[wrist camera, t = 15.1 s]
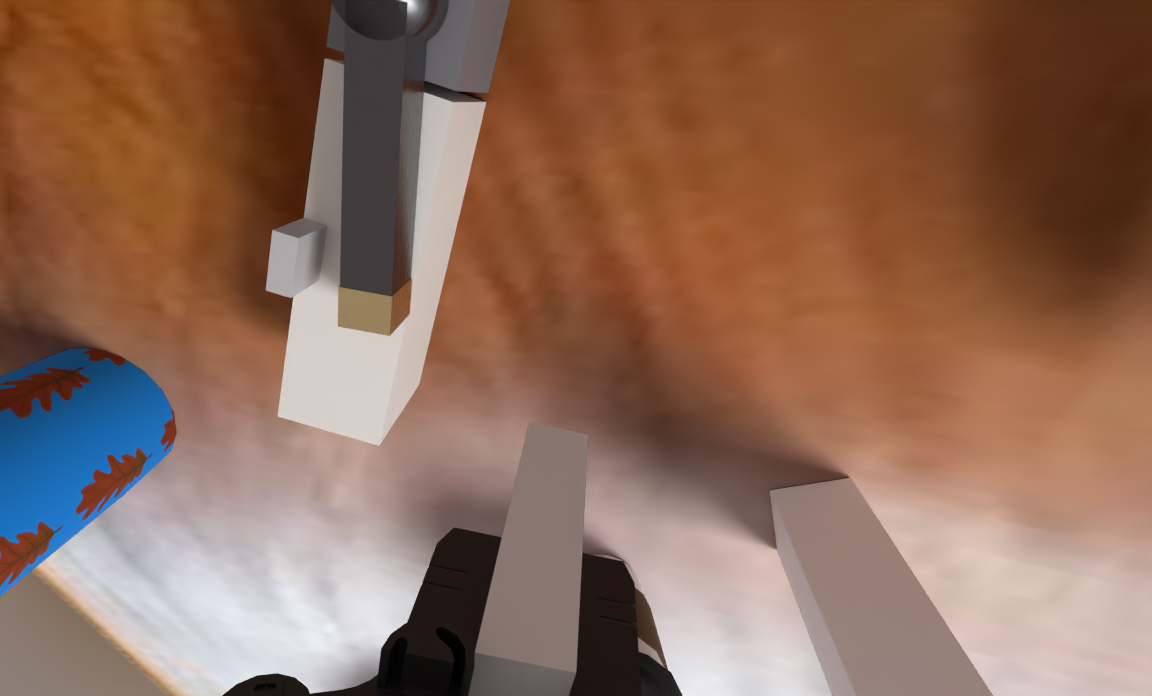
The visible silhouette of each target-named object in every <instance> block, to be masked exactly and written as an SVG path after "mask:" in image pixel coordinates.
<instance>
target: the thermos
mask: <svg viewBox="0 0 1152 696" xmlns="http://www.w3.org/2000/svg"><path fill="white" fill-rule="evenodd" d="M175 436H176V426H175V419H174V412H173V410H172V408H171V406H170V404H169V402H168V400H167V399H166V397H165V395H164V393H163V391H162V390H161V389H160V388H159V387H158V386H157V385H156V383H155V382H154V381H153V380H152V379H151V378H150V377H149V376H148V375H147V374H146V373H145V372H144V371H143V370H141V369H139V368H138V367H136V366H135V365H133V364H131V363H130V362H128V361H127V360H125V359H123V358H122V357H120V356H117V355H113V354H110V353H107V352H104V351H101V350H97V349H68V350H66V351H63V352H60V353H58V354H55V355H53V356H50V357H48V358H45V359H43V360H40V361H37V362H35V363H32V364H30V365H27V366H25V367H22V368H20V369H17V370H15V371H12V372H10V373H7V374H5V375H2V376H0V596H1V595H2V594H4V593H5V592H6V591H7V590H9V589H10V588H11V587H12V586H13V585H15V584H16V583H17V582H18V581H19V580H21V579H22V578H23V577H24V576H26V575H27V574H28V573H29V572H30V571H32V570H33V569H34V568H35V567H37V566H38V565H39V564H40V563H41V562H43V561H44V560H45V559H46V558H48V557H49V556H50V555H51V554H52V553H54V552H55V551H56V550H57V549H59V548H60V547H61V546H62V545H63V544H65V543H66V542H67V541H68V540H70V539H71V538H72V537H73V536H74V535H76V534H77V533H78V532H79V531H80V530H82V529H83V528H84V527H85V526H87V525H88V524H89V523H90V522H91V521H93V520H94V519H95V518H96V517H98V516H99V515H100V514H101V513H102V512H104V511H105V510H106V509H107V508H109V507H110V506H111V505H112V504H113V503H115V502H116V501H117V500H118V499H119V498H121V497H122V496H123V495H124V494H125V493H126V492H127V491H128V490H130V489H131V488H132V487H133V486H134V485H135V484H136V483H137V482H138V481H139V480H140V479H141V478H143V477H144V476H145V475H146V474H147V473H148V472H149V471H150V470H151V469H152V468H153V467H154V466H156V465H157V464H158V463H159V462H160V461H161V460H162V459H163V458H164V457H165V456H166V455H167V454H168V453H169V452H170V451H171V449H172V445H173V442H174V439H175Z"/></svg>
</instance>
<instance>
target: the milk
mask: <svg viewBox="0 0 1152 696" xmlns="http://www.w3.org/2000/svg"><path fill="white" fill-rule="evenodd" d="M770 499H771V506H772V514H773V522H774V530H775V538H776V545H777V552H778V555H779V557H780V560H781V562H782V565H783V568H784V570H785V573H786V575H787V578H788V581H789V583H790V586H791V589H792V591H793V594H794V596H795V599H796V602H797V604H798V607H799V609H800V612H801V615H802V617H803V620H804V623H805V625H806V628H807V630H808V633H809V636H810V638H811V641H812V644H813V646H814V649H815V651H816V654H817V657H818V659H819V662H820V664H821V667H822V670H823V672H824V675H825V678H826V680H827V683H828V685H829V688H830V691H831V693H832V696H993V695H992V693H991V692H990V690H989V689H988V687H987V686H986V684H985V683H984V681H983V680H982V678H981V677H980V675H979V673H978V672H977V670H976V669H975V667H974V666H973V664H972V663H971V661H970V660H969V658H968V657H967V655H966V654H965V652H964V650H963V649H962V647H961V646H960V644H959V643H958V641H957V640H956V638H955V637H954V635H953V634H952V632H951V631H950V629H949V627H948V626H947V624H946V623H945V621H944V620H943V618H942V617H941V615H940V614H939V612H938V611H937V609H936V607H935V606H934V604H933V603H932V601H931V600H930V598H929V597H928V595H927V594H926V592H925V591H924V589H923V588H922V586H921V584H920V583H919V581H918V580H917V578H916V577H915V575H914V574H913V572H912V571H911V569H910V568H909V566H908V565H907V563H906V561H905V560H904V558H903V557H902V555H901V554H900V552H899V551H898V549H897V548H896V546H895V545H894V543H893V542H892V540H891V538H890V537H889V535H888V534H887V532H886V531H885V529H884V528H883V526H882V525H881V523H880V522H879V520H878V519H877V517H876V515H875V514H874V512H873V511H872V509H871V508H870V506H869V505H868V503H867V502H866V500H865V499H864V497H863V495H862V494H861V492H860V491H859V489H858V488H857V486H856V485H855V483H854V482H853V480H852V479H851V478H845V479H839V480H833V481H826V482H820V483H814V484H807V485H801V486H795V487H788V488H782V489H776V490H770Z"/></svg>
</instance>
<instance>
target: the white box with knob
mask: <svg viewBox="0 0 1152 696" xmlns="http://www.w3.org/2000/svg"><path fill="white" fill-rule="evenodd" d="M509 4H510V0H449V5H448V11H447V15H446V18H445V21H444V23H443V25H442V27H441V29H440V30H439V31H438V33H437V34H436V35H435V36H434V37H433V38H431V39H430V40H429V41H427V54H426V68H425V83H424V97H423V112H422V126H421V141H420V155H419V170H418V184H417V199H416V214H415V228H414V243H413V257H412V272H411V278H412V290H411V304H410V314H409V316H408V317H407V318H406V319H405V320H404V321H403V322H402V323H401V324H400V325H399V327H398V328H397V329H396V330H395V331H394V332H393V333H392V334H391V335H390V336H387V335H382V334H376V333H370V332H365V331H359V330H354V329H348V328H343V327H338V287H339V286H340V253H341V199H342V146H343V92H344V61H339V60H332V59H326V58H325V60H324V67H323V75H322V83H321V90H320V98H319V106H318V113H317V121H316V128H315V136H314V144H313V151H312V159H311V166H310V174H309V182H308V189H307V197H306V205H305V212H304V218H302V219H299V220H297V221H294V222H292V223H289V224H287V225H284V226H281V227H279V228H276V229H274V230H272V238H271V247H270V256H269V265H268V274H267V283H266V291H269V292H273V293H276V294H279V295H282V296H286V297H289V298H292V297H293V304H292V311H291V319H290V326H289V334H288V342H287V349H286V357H285V364H284V372H283V380H282V387H281V395H280V403H279V410H278V417H282V418H285V419H288V420H292V421H295V422H299V423H302V424H306V425H309V426H313V427H316V428H319V429H323V430H326V431H330V432H333V433H337V434H340V435H343V436H347V437H350V438H354V439H357V440H361V441H364V442H368V443H371V444H374V445H378V446H379V445H380V444H381V442H382V441H383V439H384V438H385V436H386V435H387V433H388V432H389V430H390V428H391V427H392V425H393V424H394V422H395V421H396V419H397V418H398V416H399V415H400V413H401V412H402V410H403V409H404V407H405V406H406V404H407V402H408V401H409V399H410V398H411V396H412V395H413V393H414V392H415V390H416V389H417V387H418V386H419V383H420V379H421V374H422V370H423V366H424V362H425V358H426V353H427V349H428V345H429V341H430V337H431V332H432V328H433V324H434V320H435V316H436V311H437V307H438V303H439V299H440V294H441V290H442V286H443V282H444V278H445V273H446V269H447V265H448V261H449V257H450V252H451V248H452V244H453V240H454V236H455V231H456V227H457V223H458V219H459V215H460V210H461V206H462V202H463V198H464V194H465V189H466V185H467V181H468V177H469V172H470V168H471V164H472V160H473V156H474V151H475V147H476V143H477V139H478V135H479V130H480V126H481V122H482V118H483V114H484V109H485V105H486V102H485V101H482V100H479V99H476V98H473V97H470V96H467V95H464V94H462V93H459V92H456V91H463V92H479V93H489V88H490V84H491V80H492V76H493V71H494V67H495V63H496V59H497V55H498V50H499V46H500V42H501V38H502V34H503V29H504V25H505V21H506V17H507V13H508V8H509ZM344 39H345V22H344V21H343V20H342V19H341V17H340V16H339V15H338V13H337V12H336V10H335V8H334V6H333V4H332V7H331V14H330V22H329V29H328V37H327V45H326V47H329V48H332V49H335V50H338V51H341V52H344ZM427 81H428V82H427ZM430 82H431V83H430ZM432 83H434V84H432ZM435 84H437V85H435ZM438 85H440V86H438ZM441 86H443V87H441ZM444 87H446V88H444ZM447 88H449V89H447ZM450 89H451V90H450ZM453 90H454V91H453Z"/></svg>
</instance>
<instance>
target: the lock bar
mask: <svg viewBox="0 0 1152 696" xmlns="http://www.w3.org/2000/svg"><path fill="white" fill-rule="evenodd" d="M331 2H332V4H333V6H334V8H335V10H336V12H337V13H338V15H339V16H340V17H341V19H342V20H343V21H344V22H345V39H344V92H343V146H342V199H341V253H340V286H339V287H338V327H343V328H348V329H354V330H359V331H365V332H370V333H376V334H382V335H387V336H390V335H391V334H392V333H393V332H394V331H395V330H396V329H397V328H398V327H399V325H400V324H401V323H402V322H403V321H404V320H405V319H406V318H407V317H408V316H409V314H410V304H411V290H412V278H411V272H412V257H413V243H414V228H415V214H416V199H417V184H418V170H419V155H420V141H421V126H422V112H423V97H424V83H425V68H426V54H427V41H429V40H430V39H431V38H433V37H434V36H435V35H436V34H437V33H438V31H439V30H440V29H441V27H442V25H443V23H444V21H445V18H446V15H447V11H448V5H449V0H331Z"/></svg>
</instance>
